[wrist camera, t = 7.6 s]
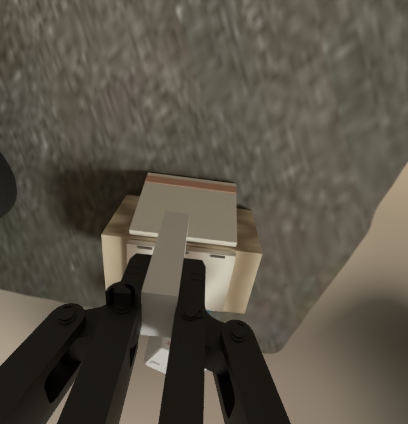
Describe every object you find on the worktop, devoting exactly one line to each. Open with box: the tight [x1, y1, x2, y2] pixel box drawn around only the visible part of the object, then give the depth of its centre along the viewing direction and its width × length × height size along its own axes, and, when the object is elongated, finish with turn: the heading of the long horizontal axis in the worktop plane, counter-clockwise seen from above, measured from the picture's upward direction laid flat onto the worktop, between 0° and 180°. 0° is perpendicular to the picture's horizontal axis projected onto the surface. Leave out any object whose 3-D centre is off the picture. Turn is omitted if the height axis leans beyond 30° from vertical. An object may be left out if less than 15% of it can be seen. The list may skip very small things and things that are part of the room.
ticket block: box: [101, 194, 262, 313], centre depth 36 cm, size 18×10×11 cm, turn 83°
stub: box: [129, 172, 237, 247], centre depth 33 cm, size 12×10×1 cm
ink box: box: [144, 310, 209, 374], centre depth 44 cm, size 8×5×12 cm, turn 54°
